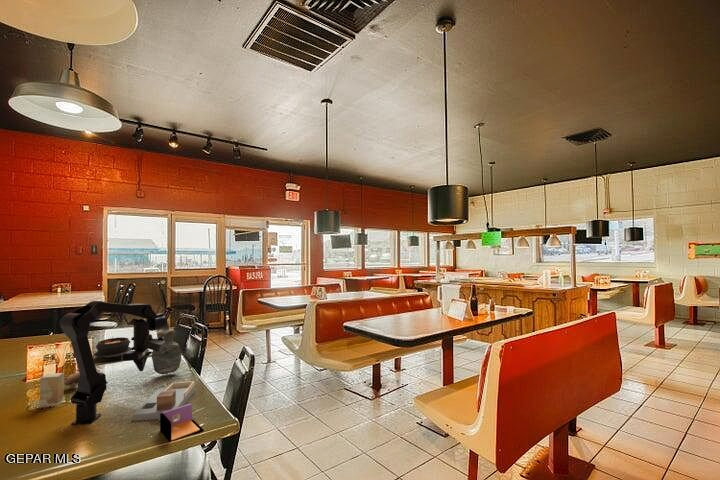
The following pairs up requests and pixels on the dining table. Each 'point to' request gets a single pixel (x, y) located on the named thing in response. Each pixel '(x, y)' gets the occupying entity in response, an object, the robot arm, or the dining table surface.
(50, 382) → the skincare box
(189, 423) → the toy room diorama
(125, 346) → the casserole
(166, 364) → the detergent
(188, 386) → the deck
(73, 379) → the mushroom
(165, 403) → the block
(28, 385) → the dining table surface
